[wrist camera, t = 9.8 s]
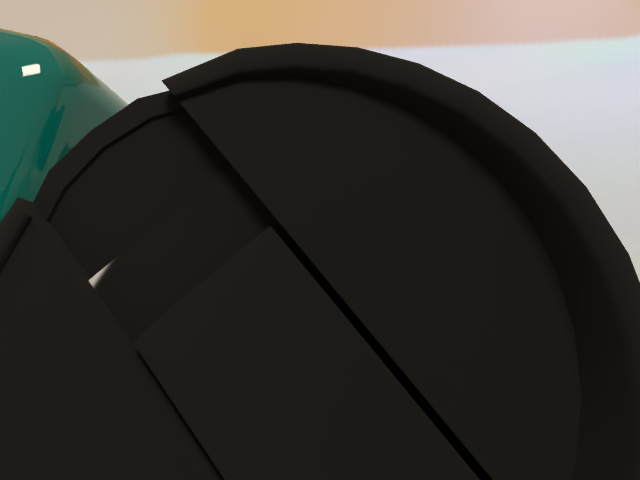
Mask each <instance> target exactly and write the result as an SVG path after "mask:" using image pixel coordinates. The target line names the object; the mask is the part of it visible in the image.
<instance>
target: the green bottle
mask: <svg viewBox="0 0 640 480" xmlns="http://www.w3.org/2000/svg"><path fill="white" fill-rule="evenodd" d="M126 106H128V104H127V103H126V102H125V101H124V100H123V99H121V98H120V97H119V96H118V95H117V94H116V93H115V92H113V91H112V90H111V89H110V88H109V87H108V86H106V85H105V84H104V83H103V82H102V81H101V80H99V79H98V78H97V77H96V76H95V75H94V74H92V73H91V72H90V71H89V70H88V69H87V68H86V67H84V66H83V65H82V64H81V63H80V62H79V61H77V60H76V59H75V58H74V57H72V56H71V55H70V54H69V53H67V52H66V51H65V50H63V49H62V48H61V47H59V46H58V45H56V44H54V43H53V42H51V41H48V40H46V39H43V38H40V37H37V36H32V35H28V34H23V33H18V32H14V31H9V30H4V29H0V222H1V220H2V219H3V217H4V216H5V215H6V213H7V212H8V210H9V209H10V207H11V206H12V205H13V203H14V202H15V200H16V199H17V198H18V197H19V198H22V199H25V200H28V201H31V202H33V201H34V199H35V197H36V195H37V193H38V191H39V189H40V187H41V185H42V183H43V181H44V179H45V177H46V175H47V173H48V171H49V170H50V169H51V168H52V167H53V166H54V165H55V164H56V163H57V162H58V161H59V160H61V159H62V158H63V157H64V156H65V155H66V154H67V153H68V152H69V151H70V150H71V149H72V148H73V147H74V146H75V145H76V144H77V143H78V142H79V141H80V140H81V139H82V138H83V137H84V136H86V135H87V134H88V133H89V132H90V131H91V130H92V129H94V128H95V127H97V126H98V125H100V124H101V123H103V122H104V121H106V120H107V119H108V118H110V117H111V116H113V115H114V114H116V113H117V112H119V111H120V110H122V109H123V108H125V107H126Z"/></svg>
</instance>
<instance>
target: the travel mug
mask: <svg viewBox="0 0 640 480" xmlns="http://www.w3.org/2000/svg"><path fill="white" fill-rule="evenodd" d="M162 82H163V83H164V84H165V85H166V87H167V88H168V89H169V90H170V91H166V92H162V93H158V94H154V95H150V96H146V97H142V98H138V99H136V100H135V101H133V102H132V103H130V104H129V105H128V106H126V107H125V108H123V109H122V110H120V111H119V112H117V113H116V114H114V115H113V116H111V117H110V118H108V119H107V120H106V121H104V122H103V123H101V124H100V125H98V126H97V127H95V128H94V129H92V130H91V131H90V132H89V133H88V134H87V135H86V136H84V137H83V138H82V139H81V140H80V141H79V142H78V143H77V144H76V145H75V146H74V147H73V148H72V149H71V150H70V151H69V152H68V153H67V154H66V155H65V156H64V157H63V158H62V159H61V160H59V161H58V162H57V163H56V164H55V165H54V166H53V167H52V168H51V169H50V170H49V171H48V173H47V175H46V177H45V179H44V181H43V183H42V185H41V187H40V189H39V191H38V193H37V195H36V197H35V199H34V201H33V202H31V201H28V200H25V199H22V198H19V197H18V198H17V199H16V200H15V202H14V203H13V205H12V206H11V207H10V209H9V210H8V212H7V213H6V215H5V216H4V217H3V219H2V220H1V222H0V480H640V282H639V279H638V277H637V274H636V272H635V269H634V267H633V264H632V261H631V259H630V256H629V254H628V252H627V251H626V249H625V247H624V246H623V244H622V243H621V241H620V240H619V238H618V236H617V235H616V233H615V232H614V230H613V228H612V227H611V225H610V224H609V222H608V221H607V219H606V217H605V216H604V214H603V213H602V211H601V209H600V208H599V206H598V205H597V203H596V201H595V200H594V198H593V197H592V195H591V194H590V192H589V190H588V189H587V187H586V186H585V185H584V184H583V183H582V182H581V181H580V180H579V179H578V178H577V176H576V175H575V174H574V173H573V172H572V171H571V170H570V169H569V168H568V167H567V166H566V165H565V164H564V163H563V162H562V160H561V159H560V158H559V157H558V156H557V155H556V154H555V153H554V152H553V151H552V150H551V149H550V148H549V147H548V146H547V145H546V143H545V142H544V141H543V140H542V139H541V138H540V137H539V136H538V135H537V134H536V133H535V132H534V131H532V130H531V129H530V128H528V127H527V126H525V125H524V124H523V123H521V122H520V121H519V120H517V119H516V118H514V117H513V116H512V115H510V114H509V113H508V112H506V111H505V110H503V109H502V108H501V107H499V106H498V105H496V104H495V103H494V102H492V101H491V100H490V99H488V98H487V97H485V96H484V95H483V94H481V93H480V92H478V91H476V90H474V89H472V88H470V87H468V86H466V85H464V84H461V83H459V82H457V81H455V80H453V79H451V78H449V77H447V76H444V75H442V74H440V73H438V72H436V71H434V70H432V69H430V68H427V67H425V66H423V65H421V64H419V63H415V62H411V61H407V60H404V59H400V58H396V57H392V56H388V55H385V54H381V53H377V52H373V51H369V50H365V49H362V48H358V47H345V46H332V45H318V44H305V43H291V44H281V45H271V46H261V47H251V48H241V49H236V50H234V51H231V52H229V53H227V54H224V55H222V56H219V57H217V58H215V59H212V60H210V61H207V62H205V63H203V64H200V65H198V66H195V67H193V68H191V69H188V70H186V71H183V72H181V73H178V74H176V75H174V76H171V77H169V78H166V79H164V80H162Z"/></svg>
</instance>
